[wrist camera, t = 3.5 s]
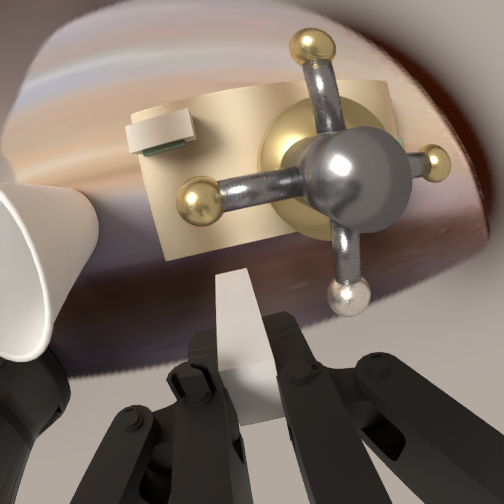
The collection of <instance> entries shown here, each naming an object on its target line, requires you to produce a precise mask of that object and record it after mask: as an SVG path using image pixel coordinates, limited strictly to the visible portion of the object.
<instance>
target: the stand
mask: <svg viewBox="0 0 504 504" xmlns="http://www.w3.org/2000/svg"><path fill="white" fill-rule="evenodd" d="M336 82H337V86H338V90H339V95H340V96H342V97H345V98H348V99H351V100H353V101H355V102H358V103H359V104H361V105H363V106H364V107H366V108H367V109H368V110H369V111H371V112H372V113H373V114H374V115H375V116H376V117H377V118H378V119H379V121H380V122H381V123H382V125H383V126H384V128H385V129H386V131H387V133H389V134H390V135H392V136H393V137H394V138H395V139H396V140H397V141H398V142H399V143H400V145H401V146H402V148H403V149H404V146H403V139H402V138H398V137H397V130H396V124H395V119H394V113H393V108H392V103H391V98H390V94H389V89H388V85H387V81H374V80H336ZM305 98H309V94H308V89H307V85H306V81H294V82H282V83H272V84H263V85H256V86H248V87H242V88H235V89H229V90H224V91H218V92H213V93H208V94H204V95H199V96H195V97H190V98H186V99H182V100H178V101H174V102H170V103H167V104H163V105H159V106H156V107H153V108H149V109H146V110H143V111H140V112H137V113H134V114H131V120H132V124H131V125H128V126H125V129H126V135H127V140H128V145H129V150H130V153H131V154H138V156H139V161H140V165H141V170H142V174H143V179H144V183H145V187H146V191H147V195H148V199H149V203H150V207H151V211H152V215H153V218H154V222H155V226H156V229H157V233H158V236H159V240H160V243H161V247H162V250H163V253H164V257H165V260H166V261H170V260H174V259H178V258H183V257H187V256H191V255H196V254H200V253H204V252H209V251H213V250H218V249H222V248H226V247H231V246H235V245H240V244H244V243H249V242H253V241H257V240H262V239H266V238H271V237H275V236H280V235H284V234H289V233H294V232H298V231H296V230H295V229H293V228H292V227H291V226H290V225H288V224H287V223H286V222H285V221H284V220H283V219H281V218H280V217H279V216H278V215H277V214H276V213H275V212H274V210H273V209H272V208H271V206H270V205H269V204H268V203H267V204H262V205H257V206H253V207H248V208H243V209H239V210H234V211H230V212H225V213H224V214H223V216H222V217H221V218H220V219H219V220H218V221H217V222H215V223H214V224H212V225H209V226H206V227H196V226H193V225H190V224H188V223H187V222H185V221H184V220H183V219H182V218H181V216H180V215H179V213H178V211H177V208H176V196H177V193H178V190H179V189H180V187H181V186H182V184H183V183H184V182H186V181H187V180H188V179H190V178H192V177H196V176H208V177H211V178H213V179H215V180H217V181H220V180H224V179H229V178H233V177H238V176H243V175H248V174H253V173H258V172H257V157H258V150H259V147H260V143H261V140H262V138H263V136H264V133H265V132H266V130H267V128H268V127H269V125H270V124H271V123H272V121H273V120H274V119H275V118H276V117H277V116H278V115H279V114H281V113H282V112H283V111H285V110H286V109H287V108H289V107H290V106H292V105H293V104H295V103H297V102H299V101H301V100H303V99H305Z"/></svg>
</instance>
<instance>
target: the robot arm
mask: <svg viewBox="0 0 504 504" xmlns="http://www.w3.org/2000/svg"><path fill="white" fill-rule="evenodd" d="M215 282H216V324H217V328H214V329H209V330H204V331H199V332H195V334H194V335H193V337H192V338H191V340H190V344H189V354H188V362H184V363H181V364H180V365H178V366H176V367H175V368H174V369H173V370H172V371H171V372H170V373H169V374H168V377H167V379H166V380H167V382H168V384H169V386H170V388H171V390H172V392H173V393H174V395H175V397H176V399H177V401H176V402H175V403H174V404H172V405H170V406H168V407H166V408H163V409H160V410H157V411H154V412H151V411H150V410H149V409H148V408H147V407H145V406H142V405H132V406H129V407H126V408H124V409H123V410H121V411H120V412H119V413H118V414H117V415H116V417H115V418H114V420H113V421H112V423H111V425H110V427H109V429H108V431H107V433H106V434H105V436H104V438H103V440H102V442H101V444H100V445H99V447H98V449H97V451H96V453H95V455H94V457H93V459H92V461H91V463H90V464H89V466H88V469H87V470H86V472H85V474H84V476H83V478H82V480H81V482H80V484H79V486H78V488H77V490H76V492H75V494H74V496H73V498H72V500H71V502H70V504H253V498H252V492H251V486H250V480H249V474H248V468H247V461H246V455H245V448H244V442H243V438H242V436H241V433H240V430H239V424H240V426H245V425H250V424H254V423H260V422H264V421H269V420H273V419H278V418H281V417H286V421H287V426H288V431H289V435H290V440H291V441H292V444H293V448H294V451H295V455H296V458H297V461H298V465H299V468H300V472H301V475H302V479H303V482H304V485H305V489H306V492H307V495H308V499H309V501H310V504H392V502H391V500H390V497H389V495H388V493H387V491H386V489H385V487H384V485H383V483H382V481H381V479H380V477H379V475H378V473H377V471H376V469H375V466H374V465H373V463H372V460H371V458H370V456H369V454H368V452H367V450H366V448H365V446H364V444H363V442H362V440H363V441H364V442H365V444H366V445H367V446H368V447H369V448H370V449H371V450H372V451H373V452H374V453H375V454H376V455H377V456H378V457H379V458H380V459H381V460H382V461H383V462H384V463H385V464H386V466H387V467H388V468H390V470H391V471H392V472H393V473H394V474H395V475H396V476H397V477H398V478H399V479H400V480H401V481H402V482H403V483H404V484H405V485H406V486H407V487H408V488H409V489H410V490H411V491H412V492H413V493H414V494H415V495H416V496H418V497H419V498H420V499H421V500H422V501H423V502H424V503H425V504H504V435H503V434H501V433H500V432H499V431H497V430H496V429H495V428H493V427H492V426H490V425H489V424H487V423H486V422H485V421H484V420H482V419H481V418H479V417H478V416H477V415H475V414H474V413H473V412H471V411H470V410H468V409H467V408H466V407H464V406H463V405H461V404H460V403H459V402H457V401H456V400H454V399H453V398H452V397H450V396H449V395H448V394H446V393H445V392H444V391H442V390H441V389H439V388H438V387H437V386H435V385H434V384H432V383H431V382H430V381H428V380H427V379H426V378H424V377H423V376H421V375H420V374H419V373H417V372H416V371H415V370H413V369H412V368H410V367H409V366H408V365H406V364H405V363H403V362H402V361H400V360H399V359H398V358H397V357H395V356H393V355H391V354H389V353H383V352H376V353H370V354H368V355H366V356H363V357H362V358H361V359H360V360H359V361H358V363H357V365H356V367H355V368H345V369H333V368H327V367H325V366H323V365H322V364H321V363H320V362H318V361H316V359H315V358H314V356H313V354H312V352H311V350H310V348H309V346H308V344H307V342H306V340H305V338H304V336H303V334H302V332H301V330H300V327H299V326H298V323H297V321H296V319H295V317H294V316H292V315H291V314H289V313H287V312H286V311H285V312H281V313H276V314H272V315H268V316H264V317H261V315H260V311H259V308H258V305H257V301H256V298H255V295H254V291H253V288H252V285H251V281H250V278H249V274H248V271H247V268H244V269H240V270H235V271H231V272H226V273H222V274H218V275H215ZM70 395H71V391H70V385H69V382H68V379H67V377H66V375H65V373H64V371H63V369H62V367H61V365H60V364H59V362H58V361H57V359H56V358H55V356H54V355H53V354H52V353H51V351H50V350H49V349H48V348H46V349H45V351H44V352H43V353H42V354H41V355H40V356H39V357H37V358H36V359H33V360H31V361H28V362H15V361H11V360H7V359H5V358H3V357H1V356H0V504H14V503H15V499H16V495H17V491H18V488H19V485H20V481H21V478H22V475H23V472H24V469H25V466H26V463H27V461H28V458H29V455H30V452H31V450H32V447H33V444H34V442H35V440H36V439H37V438H38V437H39V436H40V435H41V434H42V433H43V432H44V431H45V430H46V429H47V428H48V427H50V426H51V425H52V424H53V423H54V422H55V421H56V420H57V419H58V418H59V417H61V415H62V414H63V413H64V411H65V409H66V407H67V404H68V402H69V400H70ZM238 421H239V424H238ZM361 439H362V440H361Z"/></svg>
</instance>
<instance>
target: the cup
mask: <svg viewBox="0 0 504 504" xmlns="http://www.w3.org/2000/svg"><path fill="white" fill-rule="evenodd" d="M98 237H99V224H98V218H97V215H96V212H95V210H94V208H93V206H92V204H91V203H90V201H89V200H88V199H87V198H86V197H85V196H84V195H83V194H82V193H80V192H79V191H77V190H74V189H71V188H62V187H51V186H39V185H26V184H14V183H0V356H1V357H3V358H5V359H7V360H11V361H15V362H28V361H31V360H33V359H36V358H37V357H39V356H40V355H41V354H42V353H43V352H44V351H45V349H46V348H47V346H48V344H49V342H50V339H51V335H52V330H53V324H54V322H55V320H56V318H57V315H58V313H59V311H60V309H61V308H62V306H63V304H64V302H65V300H66V298H67V295H68V294H69V292H70V290H71V288H72V286H73V285H74V283H75V281H76V279H77V278H78V276H79V274H80V272H81V271H82V269H83V267H84V265H85V264H86V262H87V261H88V259H89V258H90V256H91V254H92V253H93V251H94V249H95V247H96V245H97V241H98Z"/></svg>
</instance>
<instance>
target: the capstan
mask: <svg viewBox="0 0 504 504" xmlns="http://www.w3.org/2000/svg"><path fill="white" fill-rule="evenodd" d="M289 51H290V54H291V56H292V58H293V59H294V60H295V61H296V62H297V63H298V64H299V65H301V66H302V68H303V72H304V76H305V80H306V85H307V89H308V94H309V98H305V99H303V100H301V101H299V102H297V103H295V104H293V105H292V106H290V107H289V108H287V109H286V110H285V111H283V112H282V113H281V114H279V115H278V116H277V117H276V118H275V119H274V120H273V121H272V123H271V124H270V125H269V127H268V128H267V130H266V132H265V133H264V136H263V138H262V140H261V143H260V147H259V150H258V157H257V172H258V173H253V174H248V175H243V176H238V177H233V178H229V179H224V180H220V181H217V180H215V179H213V178H211V177H208V176H196V177H192V178H190V179H188V180H187V181H186V182H184V183H183V184H182V186H181V187H180V189H179V190H178V193H177V196H176V208H177V211H178V213H179V215H180V216H181V218H182V219H183V220H184V221H185V222H187V223H188V224H190V225H193V226H196V227H206V226H209V225H212V224H214V223H215V222H217V221H218V220H219V219H220V218H221V217H222V216H223V214H224V213H225V212H230V211H234V210H239V209H243V208H248V207H253V206H257V205H262V204H267V203H268V204H269V205H270V206H271V208H272V209H273V210H274V212H275V213H276V214H277V215H278V216H279V217H280V218H281V219H283V220H284V221H285V222H286V223H287V224H288V225H290V226H291V227H292V228H293V229H295V230H296V231H298V232H300V233H301V234H303V235H306V236H308V237H311V238H314V239H318V240H324V241H332V247H333V259H334V271H335V278H334V279H333V280H332V281H331V283H330V285H329V287H328V290H327V300H328V303H329V305H330V307H331V309H332V310H333V311H334V312H335V313H337V314H339V315H341V316H344V317H352V316H356V315H358V314H360V313H361V312H363V311H364V310H365V308H366V307H367V305H368V304H369V301H370V297H371V291H370V287H369V284H368V282H367V281H366V280H365V279H364V278H363V277H362V276H361V254H360V237H359V234H361V233H373V232H378V231H381V230H383V229H385V228H387V227H389V226H390V225H392V224H393V223H394V222H395V221H396V220H397V219H398V218H399V217H400V215H401V214H402V213H403V211H404V209H405V207H406V206H407V203H408V201H409V197H410V194H411V188H412V179H413V178H420V177H423V178H424V179H425V180H427V181H429V182H433V183H437V182H441V181H443V180H444V179H446V178H447V176H448V175H449V173H450V170H451V161H450V158H449V155H448V154H447V152H446V151H445V150H444V149H443V148H442V147H440V146H438V145H435V144H428V145H425V146H423V147H422V148H421V149H420V150H419V151H418V152H408V153H405V151H404V149H403V148H402V146H401V145H400V143H399V142H398V141H397V140H396V139H395V138H394V137H393V136H392V135H390V134H389V133H387V131H386V129H385V128H384V126H383V125H382V123H381V122H380V121H379V119H378V118H377V117H376V116H375V115H374V114H373V113H372V112H371V111H369V110H368V109H367V108H366V107H364V106H363V105H361V104H359V103H358V102H355V101H353V100H351V99H348V98H345V97H342V96H340V95H339V90H338V86H337V82H336V78H335V74H334V70H333V66H332V61H333V59H334V58H335V55H336V45H335V42H334V40H333V39H332V37H331V36H330V35H329V34H328V33H326V32H325V31H323V30H320V29H317V28H304V29H301V30H299V31H297V32H296V33H295V34H294V35H293V36H292V37H291V39H290V42H289Z"/></svg>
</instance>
